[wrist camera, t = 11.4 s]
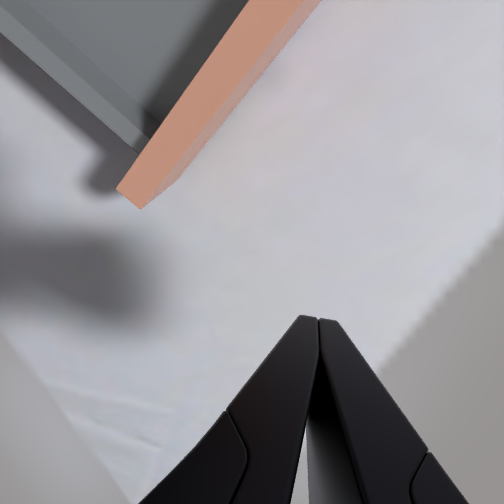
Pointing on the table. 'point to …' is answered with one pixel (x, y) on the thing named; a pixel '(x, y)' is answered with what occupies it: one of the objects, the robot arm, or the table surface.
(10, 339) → the table surface
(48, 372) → the table surface
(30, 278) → the table surface
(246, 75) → the tray
